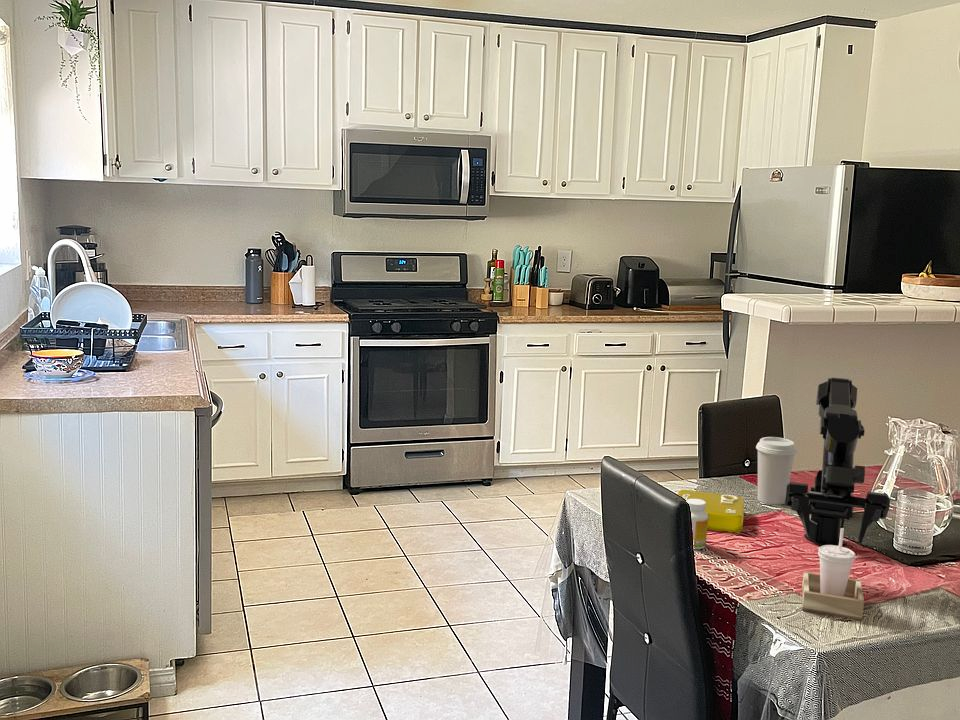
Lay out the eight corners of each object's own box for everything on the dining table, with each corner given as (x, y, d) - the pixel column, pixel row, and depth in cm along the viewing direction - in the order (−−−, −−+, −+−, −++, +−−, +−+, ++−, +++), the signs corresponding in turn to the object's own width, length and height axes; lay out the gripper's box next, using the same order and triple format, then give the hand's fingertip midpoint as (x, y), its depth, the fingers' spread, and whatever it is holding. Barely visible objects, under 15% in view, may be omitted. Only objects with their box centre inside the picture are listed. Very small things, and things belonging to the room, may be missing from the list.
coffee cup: (796, 499, 228) (802, 440, 225) (786, 509, 220) (792, 449, 217) (757, 491, 233) (762, 433, 230) (746, 501, 225) (751, 442, 222)
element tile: (677, 505, 222) (679, 486, 221) (742, 513, 218) (744, 494, 217) (672, 526, 207) (674, 506, 206) (742, 535, 203) (743, 515, 203)
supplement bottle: (707, 542, 197) (710, 499, 196) (704, 551, 192) (708, 507, 191) (681, 538, 199) (684, 495, 197) (678, 547, 194) (681, 503, 192)
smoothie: (856, 608, 167) (865, 534, 165) (823, 609, 166) (832, 535, 164) (838, 593, 174) (846, 522, 171) (806, 594, 173) (814, 522, 170)
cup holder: (801, 588, 176) (803, 571, 175) (858, 597, 173) (860, 579, 172) (802, 610, 167) (804, 592, 166) (861, 620, 164) (864, 601, 163)
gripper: (791, 442, 180) (785, 514, 172) (894, 454, 174) (893, 529, 166) (787, 469, 189) (781, 539, 181) (886, 481, 183) (884, 554, 175)
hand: (834, 540), depth 176 cm, fingers open, 9 cm apart
